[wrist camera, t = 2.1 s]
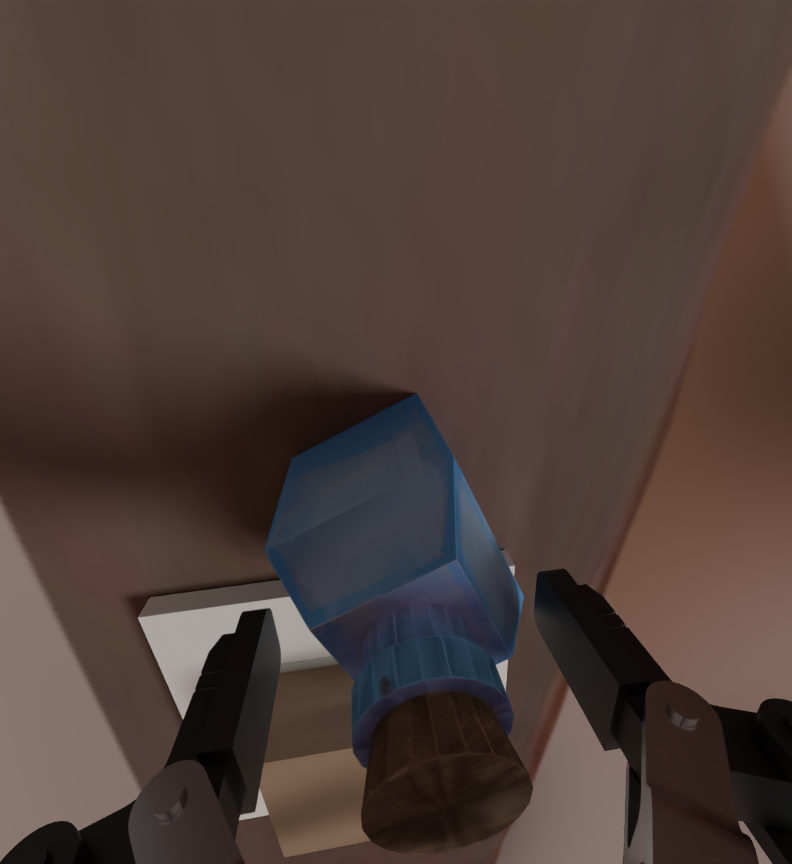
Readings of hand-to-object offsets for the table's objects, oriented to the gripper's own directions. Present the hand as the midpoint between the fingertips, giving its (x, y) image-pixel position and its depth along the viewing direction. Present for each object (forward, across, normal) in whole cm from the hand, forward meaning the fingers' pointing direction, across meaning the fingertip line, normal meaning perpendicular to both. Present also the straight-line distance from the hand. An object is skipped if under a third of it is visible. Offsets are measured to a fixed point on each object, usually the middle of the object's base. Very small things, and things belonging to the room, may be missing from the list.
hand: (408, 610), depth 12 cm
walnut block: (+6, +3, +14) cm, 15 cm away
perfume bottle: (+7, 0, -1) cm, 7 cm away
